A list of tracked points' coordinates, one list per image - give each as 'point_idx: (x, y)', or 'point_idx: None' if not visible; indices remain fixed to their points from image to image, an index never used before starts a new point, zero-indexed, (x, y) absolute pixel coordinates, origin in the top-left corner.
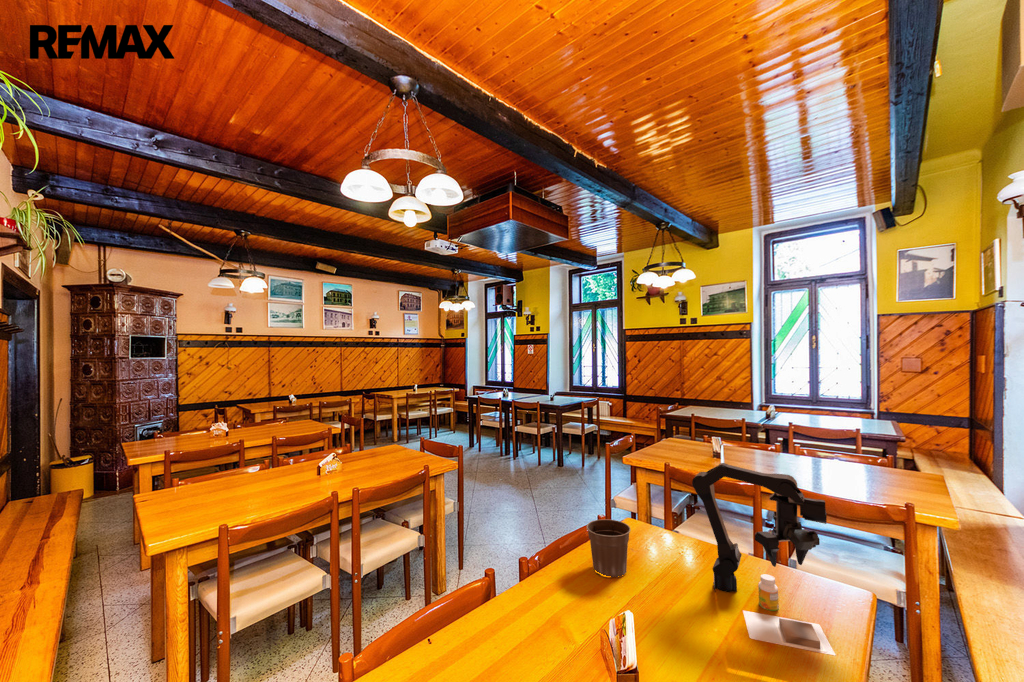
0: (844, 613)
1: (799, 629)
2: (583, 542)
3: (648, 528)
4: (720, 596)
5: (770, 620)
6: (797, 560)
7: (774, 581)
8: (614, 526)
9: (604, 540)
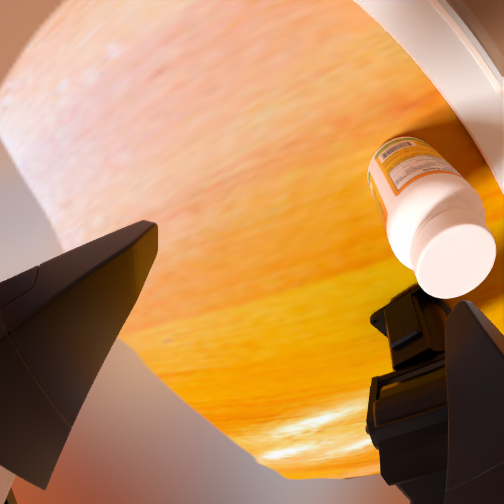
0: (110, 29)
1: None
2: None
3: (283, 468)
4: (463, 296)
5: (502, 114)
6: (145, 277)
7: (460, 217)
8: None
9: None
